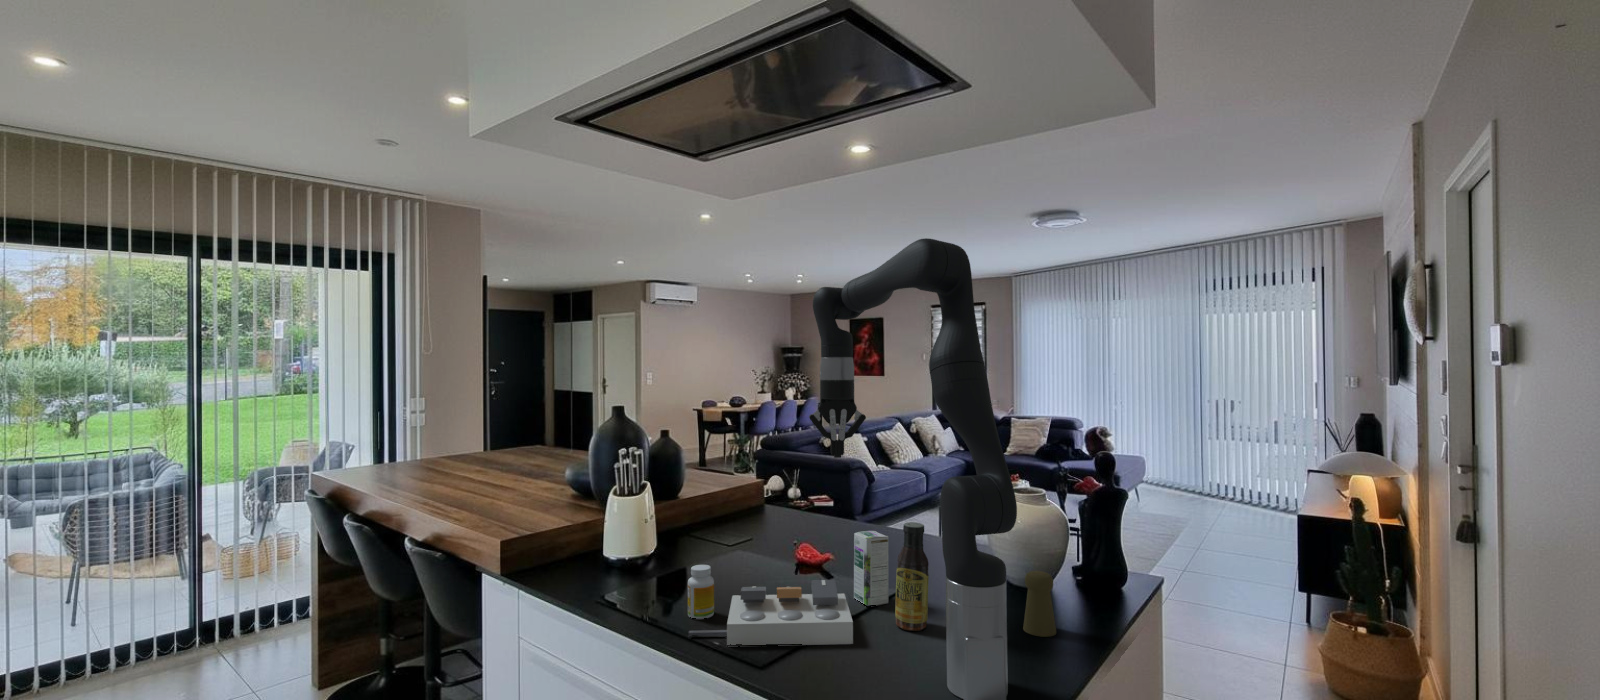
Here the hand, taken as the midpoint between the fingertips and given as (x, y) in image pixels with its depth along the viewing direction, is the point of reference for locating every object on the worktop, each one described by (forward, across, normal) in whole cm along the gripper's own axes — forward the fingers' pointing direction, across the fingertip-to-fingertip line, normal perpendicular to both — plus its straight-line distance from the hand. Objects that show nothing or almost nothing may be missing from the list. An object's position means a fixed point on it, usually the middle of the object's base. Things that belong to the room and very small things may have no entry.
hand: (837, 457), depth 142 cm
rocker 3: (+27, -4, -12) cm, 30 cm away
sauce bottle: (+31, +13, -15) cm, 37 cm away
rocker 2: (+27, -11, -13) cm, 31 cm away
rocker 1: (+27, -18, -13) cm, 35 cm away
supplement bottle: (+31, -29, -7) cm, 43 cm away
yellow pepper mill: (+31, +37, -18) cm, 52 cm away
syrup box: (+31, +7, -1) cm, 32 cm away
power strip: (+31, -15, -15) cm, 37 cm away
